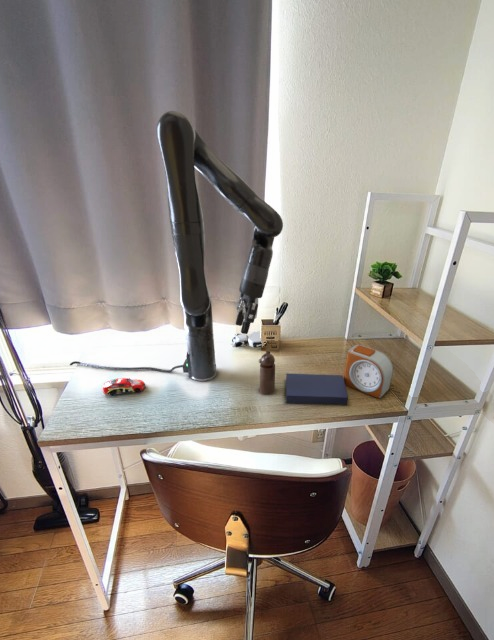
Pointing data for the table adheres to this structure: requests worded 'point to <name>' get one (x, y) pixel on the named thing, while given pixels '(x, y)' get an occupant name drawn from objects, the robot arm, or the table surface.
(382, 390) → the alarm clock
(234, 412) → the table surface
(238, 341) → the robot toy
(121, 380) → the race car
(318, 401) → the book
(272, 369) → the pepper mill
